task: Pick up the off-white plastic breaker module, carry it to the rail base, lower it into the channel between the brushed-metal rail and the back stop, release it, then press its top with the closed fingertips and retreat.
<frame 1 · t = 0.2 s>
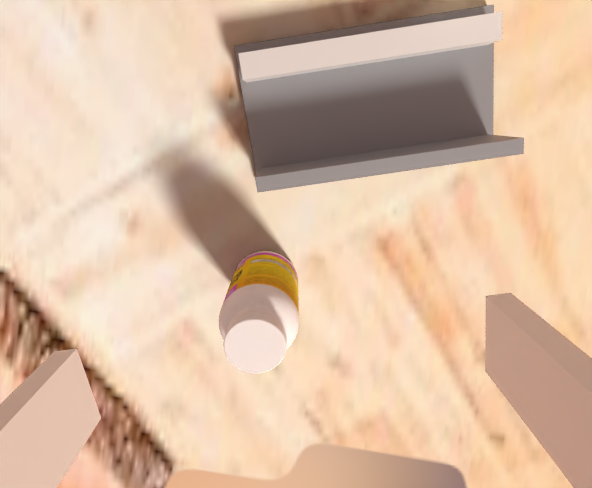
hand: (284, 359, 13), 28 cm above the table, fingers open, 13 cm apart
rail base: (366, 100, 37), on the table
supplement bottle: (266, 278, 42), on the table
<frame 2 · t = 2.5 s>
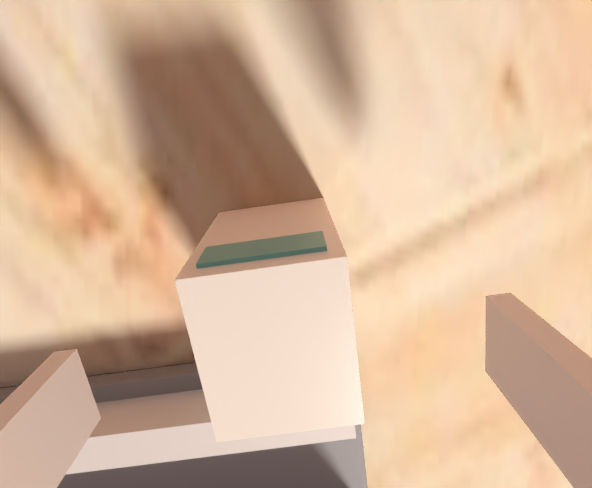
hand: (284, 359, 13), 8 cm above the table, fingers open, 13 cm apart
rail base: (174, 454, 24), on the table
module: (280, 263, 20), on the table
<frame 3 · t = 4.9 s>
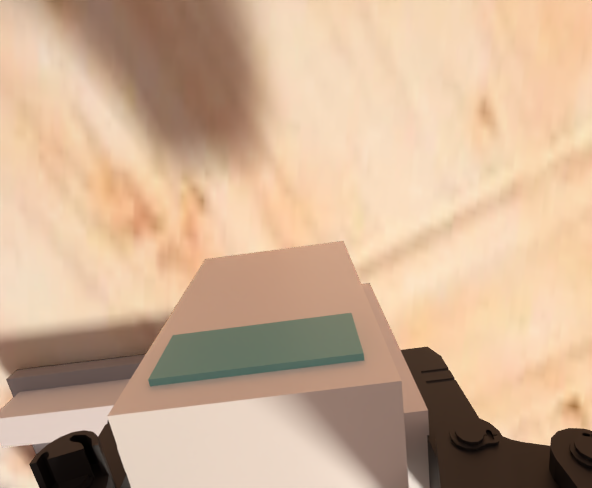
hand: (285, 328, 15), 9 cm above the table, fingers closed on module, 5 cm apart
rail base: (201, 427, 27), on the table
module: (285, 324, 15), point 9 cm above the table, touching gripper
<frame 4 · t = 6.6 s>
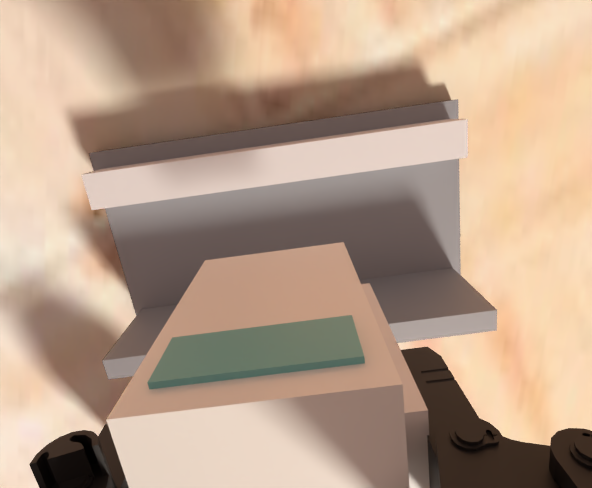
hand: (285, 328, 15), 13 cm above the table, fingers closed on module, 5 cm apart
rail base: (285, 220, 26), on the table
module: (285, 325, 15), point 12 cm above the table, touching gripper
when the fingers open (1 cm above the table, at t = 8.4 s): module stays where it is, resting on rail base.
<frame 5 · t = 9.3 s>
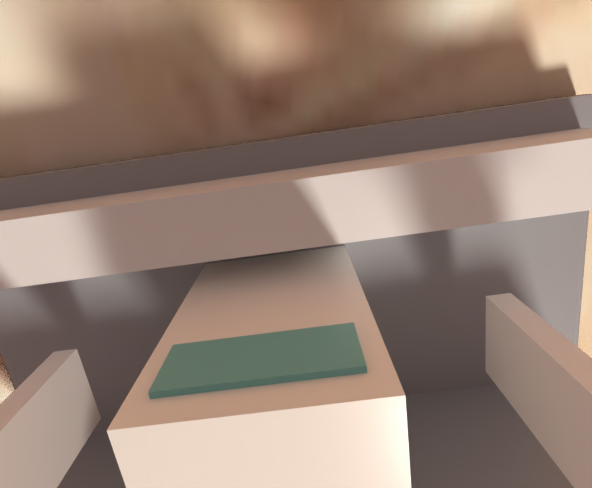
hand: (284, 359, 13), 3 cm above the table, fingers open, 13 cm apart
rail base: (283, 296, 16), on the table
module: (286, 329, 15), point 1 cm above the table, touching rail base
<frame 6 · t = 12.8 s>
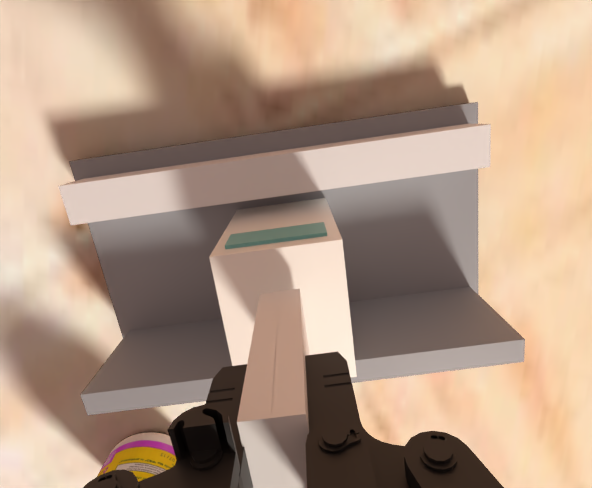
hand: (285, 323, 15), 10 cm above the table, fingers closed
rail base: (286, 234, 24), on the table
supplement bottle: (156, 462, 30), on the table
module: (288, 253, 23), point 1 cm above the table, touching rail base
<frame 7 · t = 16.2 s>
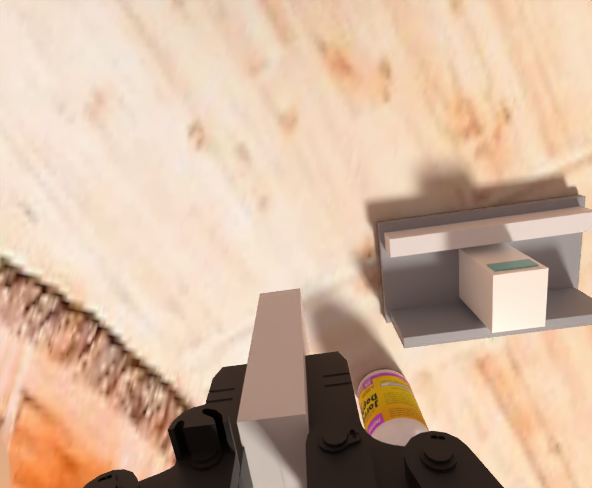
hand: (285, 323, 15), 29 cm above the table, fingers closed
rail base: (477, 259, 46), on the table
supplement bottle: (382, 388, 51), on the table
module: (481, 270, 45), point 1 cm above the table, touching rail base
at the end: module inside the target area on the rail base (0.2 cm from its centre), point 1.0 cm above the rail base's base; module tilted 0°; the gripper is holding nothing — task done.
